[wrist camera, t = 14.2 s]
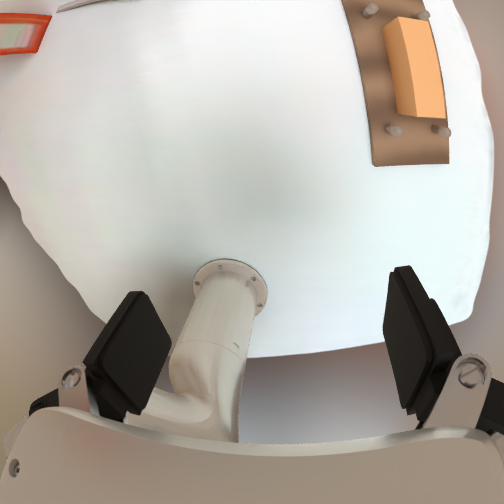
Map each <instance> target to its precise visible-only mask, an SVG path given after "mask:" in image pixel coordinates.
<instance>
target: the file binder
mask: <svg viewBox="0 0 504 504" xmlns="http://www.w3.org/2000/svg"><path fill="white" fill-rule="evenodd" d="M50 20H51V16H48V15H37V14H22V13H0V55H7V54H19V53H36V52H38V49H39V46H40V44H41V41H42V39H43V36H44V34H45V31H46V29H47V27H48V24H49V22H50Z"/></svg>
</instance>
